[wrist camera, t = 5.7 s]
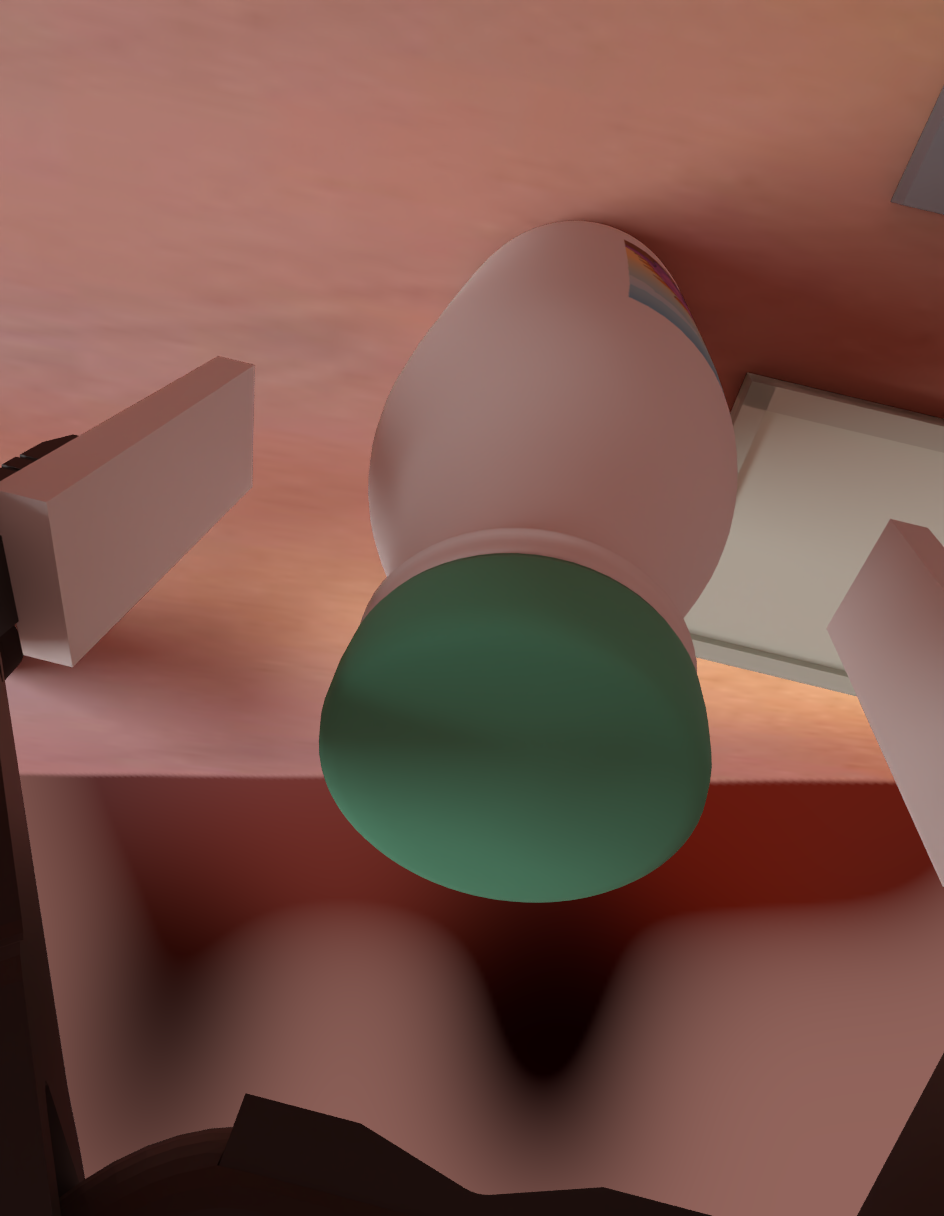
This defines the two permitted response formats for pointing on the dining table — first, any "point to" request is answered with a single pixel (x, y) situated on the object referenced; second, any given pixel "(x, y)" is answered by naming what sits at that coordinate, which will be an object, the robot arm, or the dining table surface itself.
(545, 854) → the milk bottle
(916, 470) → the pad
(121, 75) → the dining table surface
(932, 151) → the dispenser unit
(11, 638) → the drinking cup
